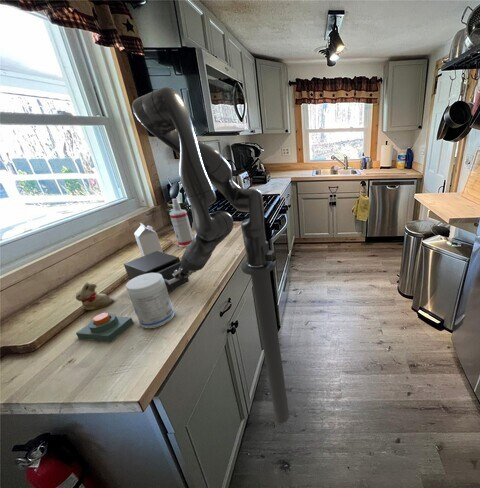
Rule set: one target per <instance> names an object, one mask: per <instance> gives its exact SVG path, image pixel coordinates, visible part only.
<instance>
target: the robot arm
mask: <svg viewBox="0 0 480 488" xmlns="http://www.w3.org/2000/svg"><path fill="white" fill-rule="evenodd" d="M131 107H132V112H133V114H134V116H135V117H136V119H137V120H138V121H139V123H140V124H141V125H142V126H143V127H144V128H145V129H146V130H147V131H148V132H150V134H152V135H153V136H154V137H156V138H157V139H158V140H159V141H161V142H162V143H163V144H165V145H166V146H167V147H169V148H170V149H172V150H173V151H174V152H175V153H177V154H178V155H179V164H178V165H179V166H178V174H179V181H180V184H181V186H182V189H183V190H184V193H185V194H186V197H187V199H188V202H189V204H190V209H191V210H190V211H191V215H192V221H193V227H194V230H195V234H194V235H193V239H192V241H191V243H190V244H189V245H188V246H187V247H185V250H184V252H183V254H182V255H181V258H180V262H181V264H182V265H181V266H180V267H179V270H176V271H172V272H171V274H172V275H173V276H174V277H175V279H180V280H181V281H185V280H187V279H189V277H190V276H192V274H194V273H197V272H198V271H201V270H202V269H203V268H205V266H206V264H207V263H208V262H209V260H210V258H211V257H212V255H213V252H214V251H215V249H217V246H218V245H219V244H221V242H223V240H225V239H226V238H227V237H228V236H229V235H230V234H231V232H232V231H233V229H234V225H235V224H234V218H233V216H232V215H231V214H230V213H229V212H228V211H225V210H217V211H214V212H212V213H210V210H209V208H210V206H211V205H213V204H214V203H215V202H216V201H217V200H218V199H217V198H218V197H217V195H216V192H215V190H214V188H216V190H218V192H220V193H221V194H222V195H223V197H224V198H225V199H226V200H227V201H228V202H229V204H231V206H232V207H233V208H234V209H235V210H236V211H239V212H241V213H242V212H243V213H248V215H249V217H248V218H245V219H243V220H242V221H240V227H241V233H242V238H243V239H242V240H243V245H244V252H245V257H246V260H247V264H248V267H250V268H262V267H267V265H268V264H269V262H270V261H272V262H274V261H276V260H277V256H276V253H275V250H271V249H270V245H269V241H267V237H266V236H267V235H266V228H265V207H264V199H263V195H262V192H261V191H260V190H259V189H258V188H257V189H256V188H243V187H240V186H239V185H238V184H237V183H236V181H234V180H233V170H232V167H231V165H230V163H229V162H228V161H227V160H226V158H225V157H224V156H223V155H222V154H221V153H220V151H218V150H217V149H216V148H214V147H212V146H210V145H208V144H206V143H204V142H201V141H199V140H197V136H196V133H195V132H196V131H195V129H194V125H193V121H192V118H191V115H190V112H189V110H188V107H187V105H186V103H185V101H184V100H183V98H182V97H181V95H180V94H179V93H178V92H177V91H175V89H173V88H171V87H169V86H163V87H159V88H157V89H155V90H153V91H150V92H148V93H145V94H144V95H141V96H139V97H137V98H136V99H134V100H133V101H132V104H131Z"/></svg>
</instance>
